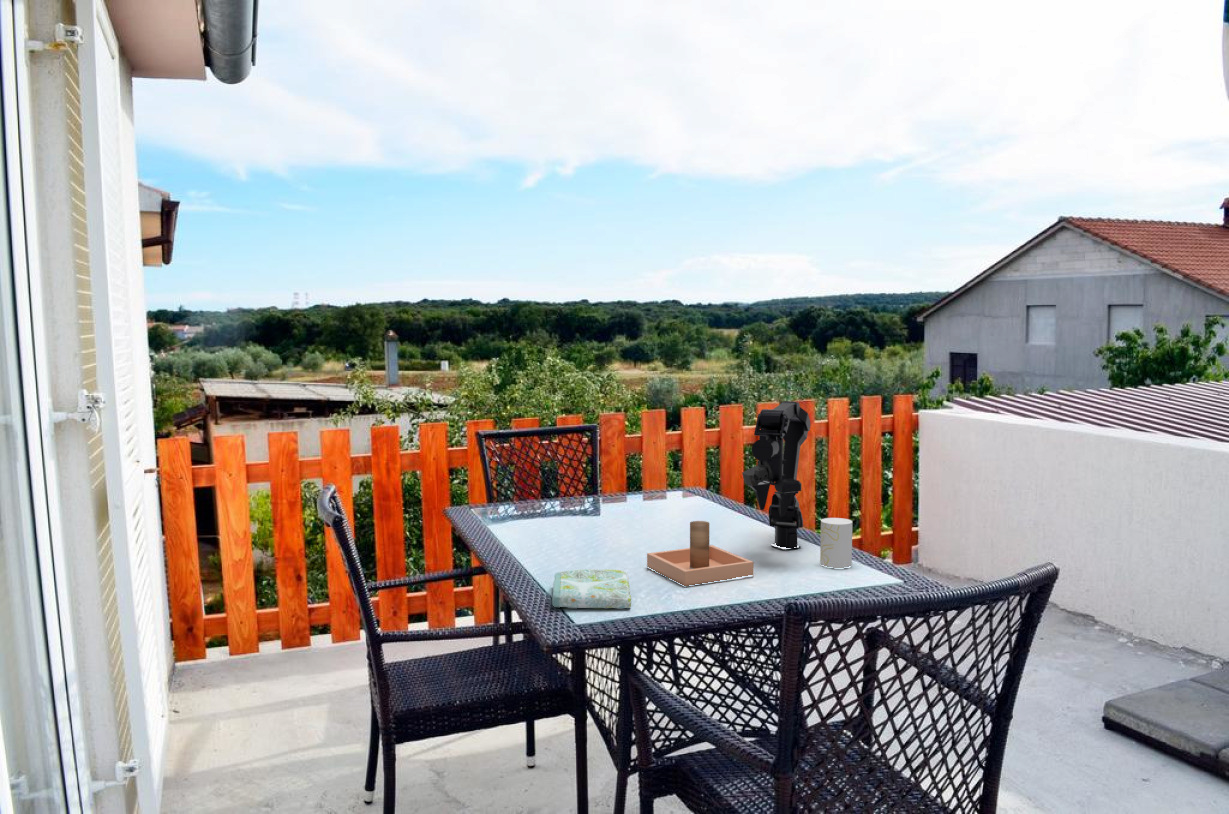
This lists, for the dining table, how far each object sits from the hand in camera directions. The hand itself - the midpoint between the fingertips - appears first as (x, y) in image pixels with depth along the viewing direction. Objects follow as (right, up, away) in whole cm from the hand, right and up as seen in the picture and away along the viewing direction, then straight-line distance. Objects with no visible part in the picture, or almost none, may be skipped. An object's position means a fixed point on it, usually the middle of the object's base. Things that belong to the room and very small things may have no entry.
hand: (771, 513), depth 253 cm
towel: (-48, -17, -32) cm, 60 cm away
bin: (-21, -14, -11) cm, 27 cm away
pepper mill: (-21, -14, -11) cm, 27 cm away
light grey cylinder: (+16, -14, -5) cm, 22 cm away
